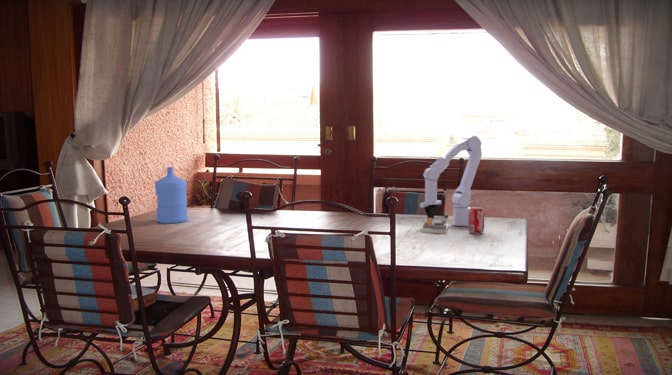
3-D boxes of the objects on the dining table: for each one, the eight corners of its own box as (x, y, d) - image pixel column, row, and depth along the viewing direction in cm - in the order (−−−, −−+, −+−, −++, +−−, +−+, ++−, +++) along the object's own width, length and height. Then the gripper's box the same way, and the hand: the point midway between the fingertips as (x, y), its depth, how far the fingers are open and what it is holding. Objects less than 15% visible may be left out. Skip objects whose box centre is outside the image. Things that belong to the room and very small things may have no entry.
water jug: (194, 220, 326) (192, 166, 323) (171, 224, 313) (169, 169, 310) (173, 217, 335) (170, 165, 331) (150, 222, 321) (147, 168, 318)
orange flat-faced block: (432, 224, 300) (432, 217, 299) (431, 225, 297) (431, 218, 297) (427, 224, 300) (427, 217, 300) (426, 225, 298) (426, 218, 297)
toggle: (445, 224, 300) (449, 214, 299) (445, 225, 299) (448, 215, 298) (441, 222, 301) (445, 213, 300) (441, 223, 299) (444, 214, 298)
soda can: (485, 232, 289) (486, 206, 287) (482, 235, 282) (482, 208, 281) (470, 231, 292) (470, 205, 290) (466, 233, 285) (467, 208, 284)
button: (443, 227, 292) (444, 222, 292) (443, 229, 288) (443, 224, 288) (435, 227, 293) (435, 222, 293) (434, 228, 289) (434, 223, 289)
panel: (448, 226, 303) (448, 219, 303) (445, 233, 287) (445, 225, 286) (425, 225, 306) (425, 218, 305) (421, 232, 290) (421, 224, 289)
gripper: (428, 195, 295) (427, 223, 296) (446, 192, 305) (446, 219, 306) (416, 193, 300) (416, 221, 301) (435, 190, 310) (434, 217, 311)
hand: (430, 220), depth 304 cm, fingers closed
